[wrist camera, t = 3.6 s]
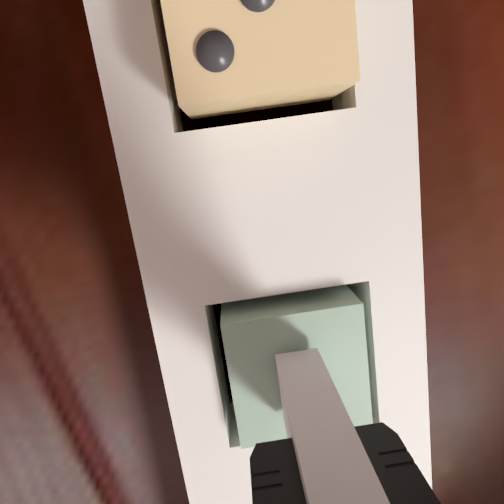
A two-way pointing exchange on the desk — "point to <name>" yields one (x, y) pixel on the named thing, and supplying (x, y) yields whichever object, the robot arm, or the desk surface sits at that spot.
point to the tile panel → (270, 225)
